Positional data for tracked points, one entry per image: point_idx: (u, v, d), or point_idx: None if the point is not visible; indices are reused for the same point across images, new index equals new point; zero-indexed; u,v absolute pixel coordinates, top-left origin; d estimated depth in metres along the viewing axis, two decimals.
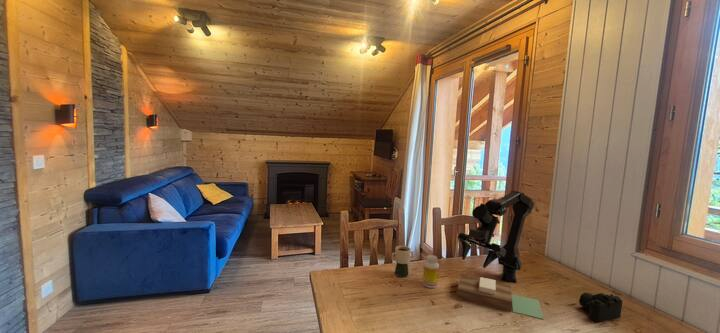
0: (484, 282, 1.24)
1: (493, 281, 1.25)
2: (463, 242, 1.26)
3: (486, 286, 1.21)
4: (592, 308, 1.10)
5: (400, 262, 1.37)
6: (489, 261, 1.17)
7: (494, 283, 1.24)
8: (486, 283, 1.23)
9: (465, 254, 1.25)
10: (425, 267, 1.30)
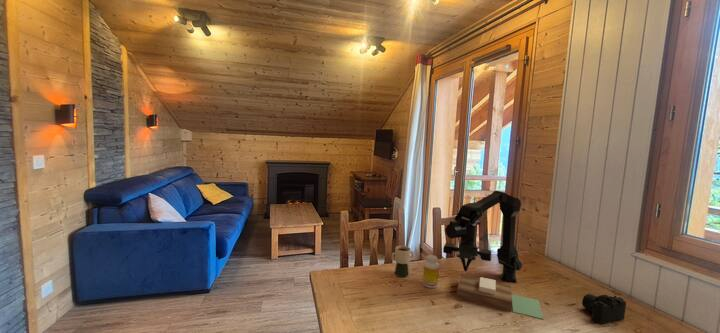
0: (484, 282, 1.24)
1: (493, 281, 1.25)
2: (462, 258, 1.25)
3: (486, 286, 1.21)
4: (595, 309, 1.09)
5: (400, 262, 1.37)
6: None
7: (494, 283, 1.24)
8: (486, 283, 1.23)
9: None
10: (425, 267, 1.30)
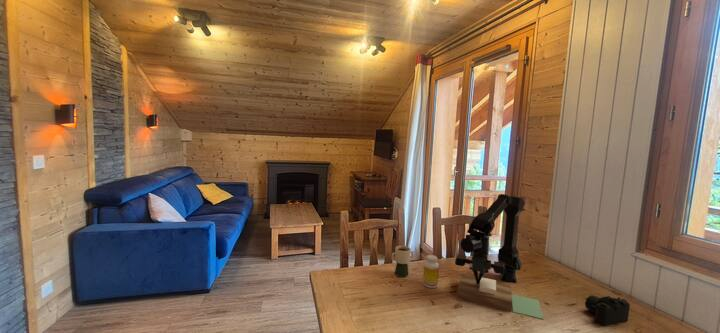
0: (484, 282, 1.24)
1: (493, 281, 1.25)
2: (474, 270, 1.23)
3: (486, 286, 1.21)
4: (599, 311, 1.08)
5: (400, 262, 1.37)
6: (481, 276, 1.25)
7: (494, 283, 1.23)
8: (486, 283, 1.23)
9: (478, 278, 1.25)
10: (425, 267, 1.30)
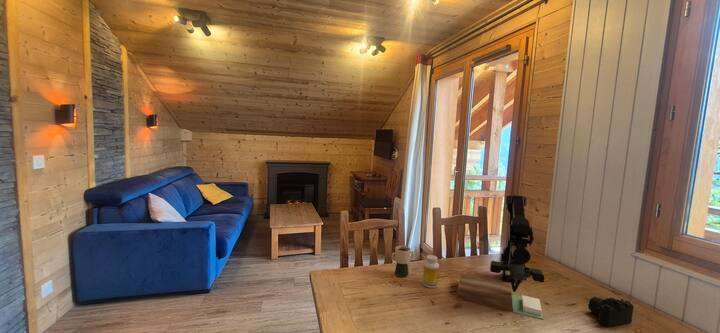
0: None
1: None
2: (511, 278, 1.17)
3: None
4: (602, 312, 1.07)
5: (400, 262, 1.37)
6: None
7: None
8: None
9: None
10: (425, 267, 1.30)
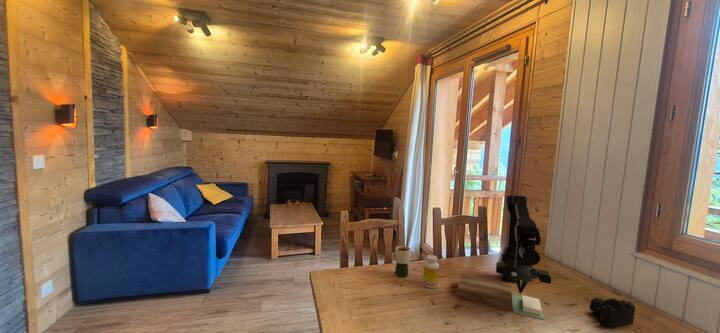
0: None
1: None
2: (517, 279, 1.17)
3: None
4: (604, 313, 1.07)
5: (400, 262, 1.37)
6: None
7: None
8: None
9: (520, 287, 1.19)
10: (425, 267, 1.30)
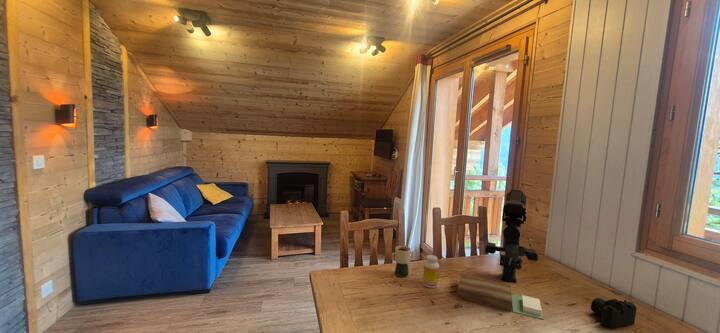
0: None
1: None
2: (506, 258, 1.19)
3: None
4: (605, 314, 1.07)
5: (400, 262, 1.37)
6: None
7: None
8: None
9: None
10: (425, 267, 1.30)
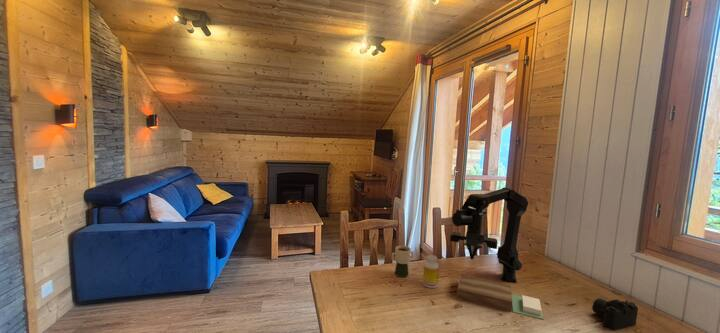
0: None
1: None
2: (468, 246, 1.28)
3: None
4: (607, 315, 1.06)
5: (400, 262, 1.37)
6: (475, 252, 1.30)
7: None
8: None
9: (471, 253, 1.30)
10: (425, 267, 1.30)
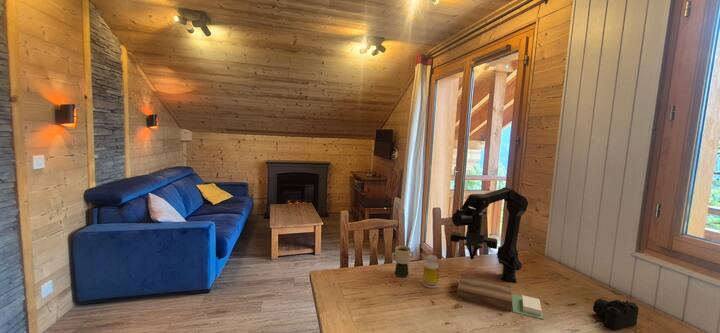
0: None
1: None
2: (468, 246, 1.28)
3: None
4: (609, 315, 1.06)
5: (400, 262, 1.37)
6: (475, 252, 1.30)
7: None
8: None
9: (471, 253, 1.30)
10: (425, 267, 1.30)
